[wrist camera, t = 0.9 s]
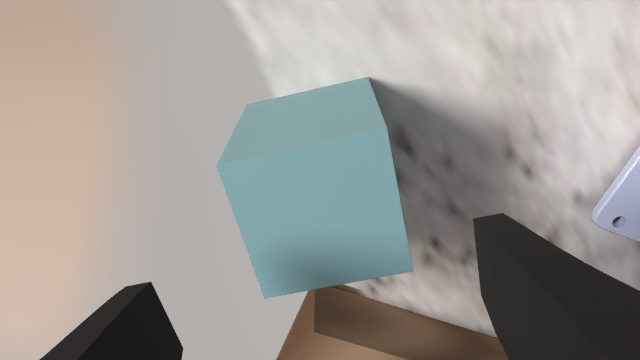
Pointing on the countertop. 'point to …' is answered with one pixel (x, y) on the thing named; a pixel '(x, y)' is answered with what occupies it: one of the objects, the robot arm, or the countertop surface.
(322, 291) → the walnut box
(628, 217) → the robot arm
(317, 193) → the teal block
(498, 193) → the countertop surface
